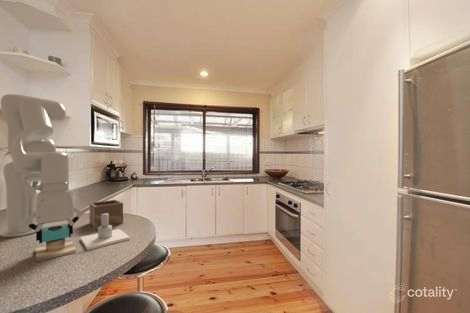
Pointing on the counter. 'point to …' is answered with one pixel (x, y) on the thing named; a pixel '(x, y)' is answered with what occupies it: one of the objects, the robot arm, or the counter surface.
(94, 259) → the counter surface
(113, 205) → the tool caddy
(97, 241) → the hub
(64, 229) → the teal square frame
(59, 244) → the stand
